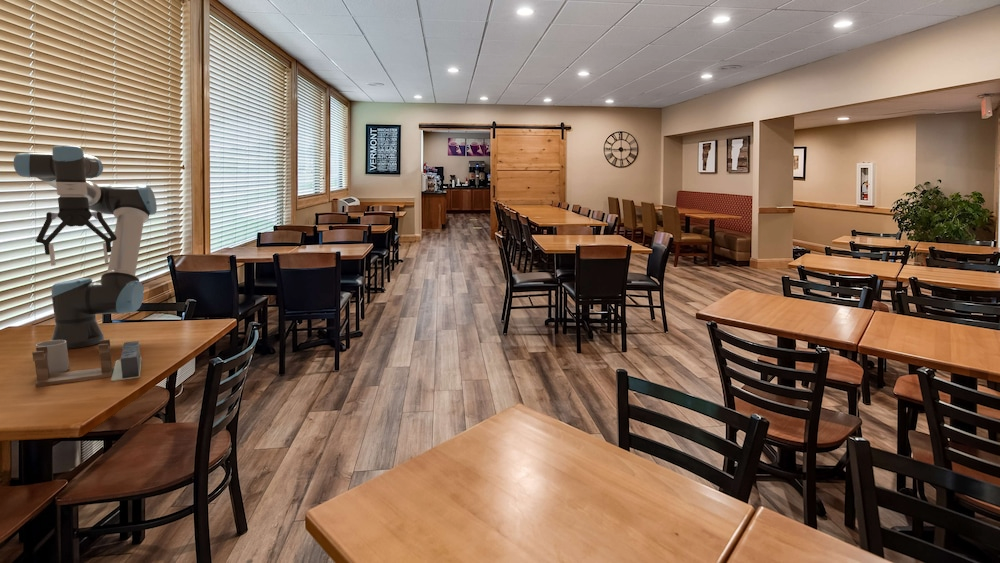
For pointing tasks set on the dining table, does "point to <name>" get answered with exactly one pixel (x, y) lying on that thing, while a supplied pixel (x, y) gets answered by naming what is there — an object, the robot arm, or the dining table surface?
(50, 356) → the cup
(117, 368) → the mat
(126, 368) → the rail
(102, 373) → the stand
